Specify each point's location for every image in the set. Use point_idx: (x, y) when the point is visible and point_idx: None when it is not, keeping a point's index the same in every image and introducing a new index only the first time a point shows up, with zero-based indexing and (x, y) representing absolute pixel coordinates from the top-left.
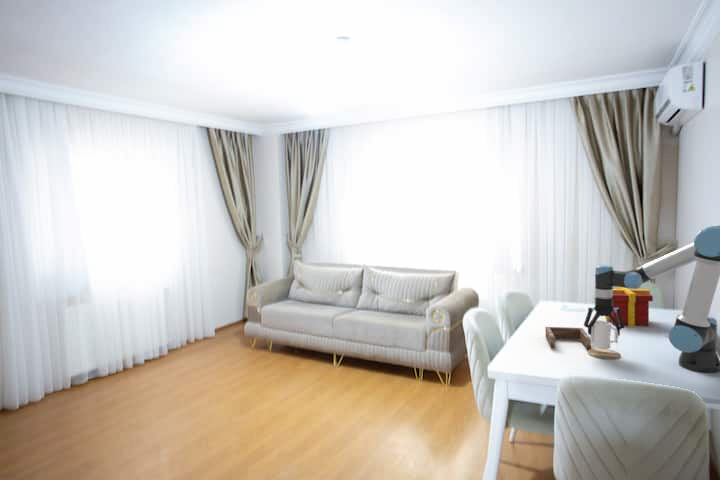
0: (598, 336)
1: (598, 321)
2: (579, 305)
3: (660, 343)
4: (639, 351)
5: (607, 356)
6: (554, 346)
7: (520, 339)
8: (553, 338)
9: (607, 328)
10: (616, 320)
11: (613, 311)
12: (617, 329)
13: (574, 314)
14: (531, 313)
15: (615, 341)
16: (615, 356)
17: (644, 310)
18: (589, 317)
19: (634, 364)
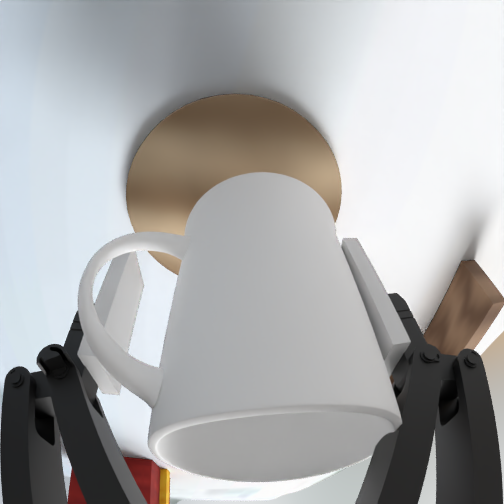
0: (324, 252)
1: (283, 471)
2: (214, 498)
3: (10, 367)
4: (41, 287)
5: (227, 124)
6: (469, 267)
7: (494, 331)
8: (494, 298)
9: (212, 351)
10: (143, 471)
11: (150, 495)
12: (80, 364)
13: (236, 484)
14: (332, 473)
15: (133, 257)
16: (165, 136)
17: (78, 487)
18: (483, 474)
19: (70, 28)
